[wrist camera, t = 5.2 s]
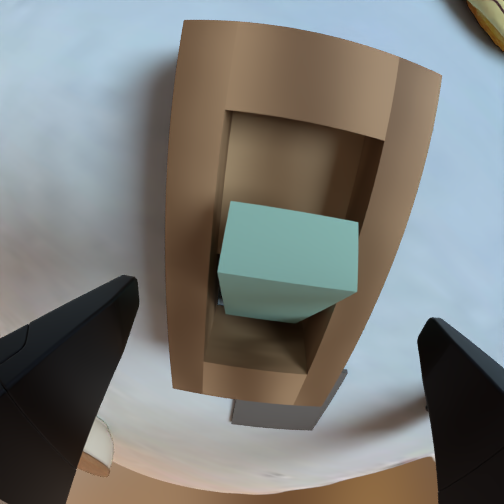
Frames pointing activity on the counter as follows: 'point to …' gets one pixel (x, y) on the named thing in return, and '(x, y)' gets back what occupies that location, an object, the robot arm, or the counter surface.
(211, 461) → the counter surface
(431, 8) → the counter surface
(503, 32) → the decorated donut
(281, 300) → the teal slab
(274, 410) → the rubber mat
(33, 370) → the robot arm
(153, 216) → the counter surface
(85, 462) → the lidded jar
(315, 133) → the pocket board
